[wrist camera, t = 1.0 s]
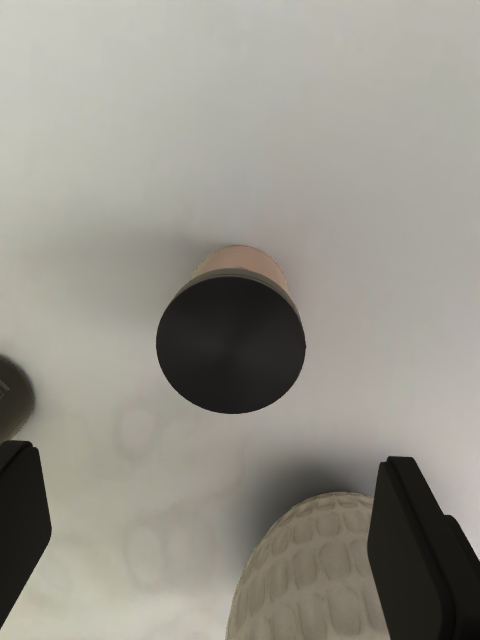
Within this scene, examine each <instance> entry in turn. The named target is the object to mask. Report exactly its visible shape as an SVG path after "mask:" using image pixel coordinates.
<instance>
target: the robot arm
mask: <svg viewBox="0 0 480 640" xmlns="http://www.w3.org/2000/svg"><path fill="white" fill-rule="evenodd" d="M51 532H52V527H51V521H50V515H49V509H48V503H47V497H46V491H45V485H44V479H43V473H42V467H41V462H40V456H39V451H38V449H37V448H36V447H33V445H32V443H31V442H29V441H15V440H7V441H4V442H3V443H2V444H1V445H0V629H1V627H2V625H3V624H4V622H5V620H6V618H7V617H8V615H9V613H10V611H11V609H12V608H13V606H14V604H15V602H16V600H17V599H18V597H19V595H20V593H21V591H22V590H23V588H24V586H25V584H26V583H27V581H28V579H29V577H30V575H31V574H32V572H33V570H34V568H35V566H36V565H37V563H38V561H39V559H40V557H41V556H42V554H43V552H44V550H45V549H46V547H47V545H48V543H49V541H50V537H51ZM367 555H368V560H369V564H370V567H371V571H372V574H373V578H374V582H375V585H376V589H377V593H378V596H379V600H380V603H381V607H382V611H383V614H384V618H385V621H386V625H387V629H388V632H389V636H390V639H391V640H480V561H479V559H478V558H477V556H476V554H475V552H474V550H473V549H472V547H471V545H470V543H469V541H468V540H467V538H466V536H465V534H464V533H463V531H462V529H461V527H460V525H459V524H458V522H457V521H456V519H455V518H454V517H452V516H451V515H444V514H443V512H442V511H441V509H440V507H439V505H438V503H437V501H436V499H435V497H434V495H433V494H432V492H431V490H430V488H429V486H428V484H427V482H426V480H425V478H424V477H423V475H422V473H421V471H420V469H419V467H418V465H417V463H416V461H415V460H414V458H412V457H397V456H389V457H388V458H387V461H386V462H380V465H379V470H378V476H377V483H376V489H375V495H374V502H373V508H372V515H371V521H370V527H369V534H368V540H367Z"/></svg>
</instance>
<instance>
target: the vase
mask: <svg viewBox="0 0 480 640" xmlns="http://www.w3.org/2000/svg"><path fill="white" fill-rule="evenodd" d="M373 502H374V497H371V496H368V495H364V494H359V493H353V492H330V493H324V494H320V495H317V496H314V497H311V498H308V499H306V500H304V501H302V502H300V503H298V504H297V505H295V506H294V507H292V508H291V509H290V510H288V511H287V512H286V513H285V514H284V515H283V516H282V517H281V518H279V519H278V520H277V521H276V522H275V523H274V524H273V525H272V527H271V528H270V529H269V530H268V531H267V533H266V534H265V535H264V537H263V538H262V539H261V541H260V542H259V543H258V545H257V546H256V547H255V549H254V550H253V552H252V554H251V556H250V558H249V559H248V561H247V564H246V566H245V568H244V571H243V573H242V575H241V577H240V580H239V582H238V584H237V587H236V591H235V594H234V597H233V601H232V606H231V610H230V615H229V619H228V623H227V628H226V639H225V640H391V639H390V636H389V632H388V629H387V625H386V621H385V618H384V614H383V611H382V607H381V603H380V600H379V596H378V593H377V589H376V585H375V582H374V578H373V574H372V571H371V567H370V564H369V560H368V555H367V540H368V534H369V527H370V521H371V515H372V508H373Z"/></svg>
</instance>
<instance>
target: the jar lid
mask: <svg viewBox="0 0 480 640" xmlns="http://www.w3.org/2000/svg"><path fill="white" fill-rule="evenodd" d="M156 349H157V356H158V360H159V364H160V366H161V369H162V371H163V373H164V375H165V377H166V378H167V380H168V381H169V383H170V384H171V385H172V387H173V388H174V389H175V390H176V391H177V392H178V393H179V394H180V395H181V396H183V397H184V398H185V399H187V400H188V401H190V402H191V403H193V404H195V405H197V406H199V407H201V408H203V409H206V410H209V411H213V412H218V413H225V414H241V413H248V412H252V411H256V410H259V409H261V408H264V407H266V406H268V405H270V404H272V403H274V402H275V401H277V400H278V399H279V398H281V397H282V396H283V395H284V394H285V393H286V392H287V391H288V390H289V389H290V388H291V387H292V385H293V384H294V382H295V381H296V379H297V378H298V376H299V374H300V371H301V369H302V366H303V363H304V358H305V349H306V342H305V335H304V331H303V327H302V323H301V320H300V316H299V313H298V311H297V308H296V306H295V304H294V303H293V301H292V299H291V298H290V296H289V295H288V294H287V293H286V292H285V290H283V289H282V288H281V287H280V286H279V285H278V284H277V283H275V282H274V281H272V280H271V279H269V278H268V277H266V276H264V275H262V274H259V273H256V272H254V271H250V270H246V269H239V268H223V269H217V270H212V271H209V272H206V273H203V274H201V275H199V276H197V277H195V278H194V279H192V280H191V281H189V282H188V283H187V284H185V285H184V286H183V287H182V288H181V289H180V290H179V291H178V292H177V294H176V295H175V296H174V298H173V299H172V301H171V302H170V304H169V305H168V307H167V309H166V310H165V312H164V314H163V316H162V318H161V320H160V323H159V326H158V330H157V336H156Z"/></svg>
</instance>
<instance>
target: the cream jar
mask: <svg viewBox="0 0 480 640" xmlns="http://www.w3.org/2000/svg"><path fill="white" fill-rule="evenodd" d="M223 268H239V269H246V270H250V271H254V272H256V273H259V274H262V275H264V276H266V277H268V278H269V279H271V280H272V281H274V282H275V283H277V284H278V285H279V286H280V287H281V288H282V289H283V290H285V292H286V293H287V294H288V295H289V296H290V293H289V289H288V285H287V281H286V278H285V275H284V273H283V271H282V270H281V268H280V266H279V265H278V264H277V263H276V262H275V261H274V260H273V259H272V258H271V257H270V256H268V255H267V254H266V253H264V252H262V251H260V250H258V249H255V248H252V247H247V246H230V247H225V248H222V249H219V250H217V251H215V252H213V253H212V254H210V255H209V256H207V257H206V258H205V259H204V260H203V261H202V262H201V263H200V265H199V266H198V267H197V269H196V271H195V272H194V274H193V275H192V277H191V279H190V280H189V281H191V280H192V279H194V278H195V277H197V276H199V275H201V274H203V273H206V272H209V271H212V270H217V269H223ZM290 298H291V297H290Z"/></svg>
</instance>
